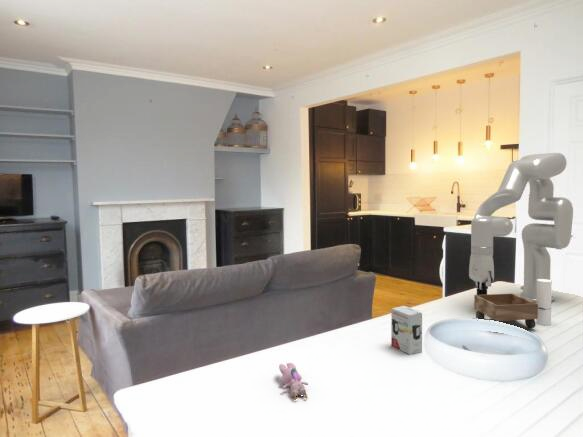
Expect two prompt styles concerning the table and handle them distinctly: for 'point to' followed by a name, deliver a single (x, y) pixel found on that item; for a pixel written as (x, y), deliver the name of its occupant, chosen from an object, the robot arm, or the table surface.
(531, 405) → the table surface
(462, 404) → the table surface
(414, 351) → the ink box
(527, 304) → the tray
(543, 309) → the tube
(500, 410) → the table surface
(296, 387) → the rabbit figure
